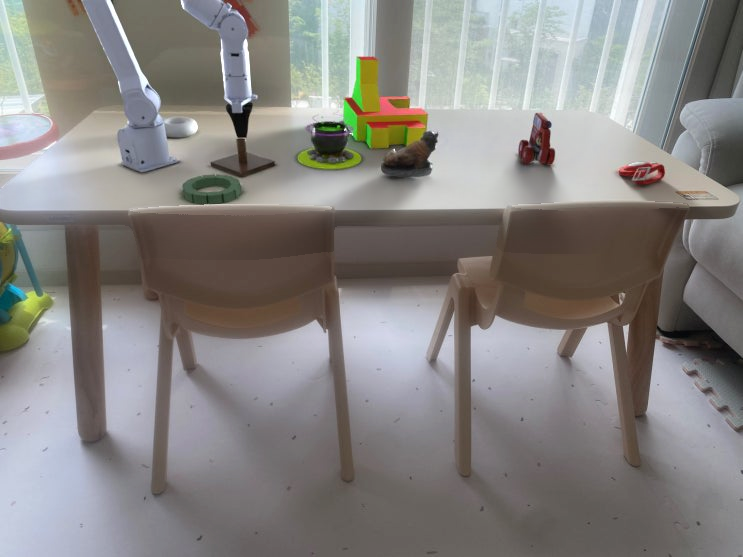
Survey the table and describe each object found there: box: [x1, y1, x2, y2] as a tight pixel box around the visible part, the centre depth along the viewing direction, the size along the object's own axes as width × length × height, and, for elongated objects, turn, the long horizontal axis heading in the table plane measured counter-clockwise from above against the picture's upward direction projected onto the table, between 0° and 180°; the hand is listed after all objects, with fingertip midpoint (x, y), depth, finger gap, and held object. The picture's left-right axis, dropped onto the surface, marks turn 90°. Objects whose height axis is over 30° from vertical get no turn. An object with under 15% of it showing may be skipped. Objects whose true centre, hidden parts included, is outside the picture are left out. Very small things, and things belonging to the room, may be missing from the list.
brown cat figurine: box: [380, 130, 439, 178], centre depth 115 cm, size 12×7×10 cm, turn 89°
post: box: [210, 138, 276, 178], centre depth 118 cm, size 10×10×6 cm
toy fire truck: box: [517, 112, 556, 166], centre depth 127 cm, size 7×12×10 cm, turn 178°
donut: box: [163, 116, 199, 139], centre depth 136 cm, size 10×4×10 cm
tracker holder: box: [617, 161, 666, 185], centre depth 121 cm, size 12×4×10 cm
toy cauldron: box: [297, 111, 362, 170], centre depth 123 cm, size 15×15×11 cm
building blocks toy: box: [342, 56, 429, 149], centre depth 140 cm, size 19×25×18 cm
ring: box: [181, 173, 242, 205], centre depth 105 cm, size 11×11×2 cm
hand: (242, 137), depth 120 cm, fingers closed
